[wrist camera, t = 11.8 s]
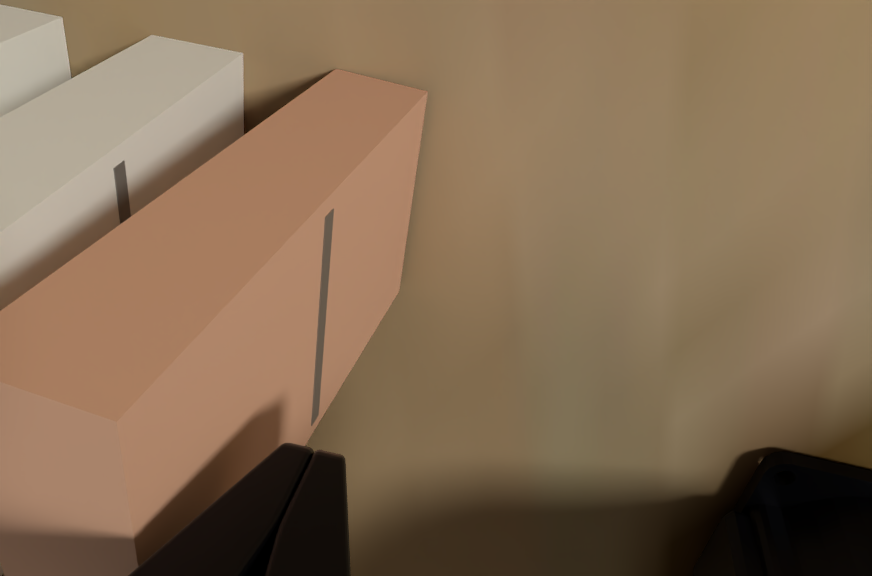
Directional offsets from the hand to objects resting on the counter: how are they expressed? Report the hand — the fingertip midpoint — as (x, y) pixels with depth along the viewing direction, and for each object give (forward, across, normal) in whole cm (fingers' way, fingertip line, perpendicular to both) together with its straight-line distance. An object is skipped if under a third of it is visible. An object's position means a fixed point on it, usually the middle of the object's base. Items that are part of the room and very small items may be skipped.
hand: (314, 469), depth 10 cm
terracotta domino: (+8, +1, 0) cm, 8 cm away
